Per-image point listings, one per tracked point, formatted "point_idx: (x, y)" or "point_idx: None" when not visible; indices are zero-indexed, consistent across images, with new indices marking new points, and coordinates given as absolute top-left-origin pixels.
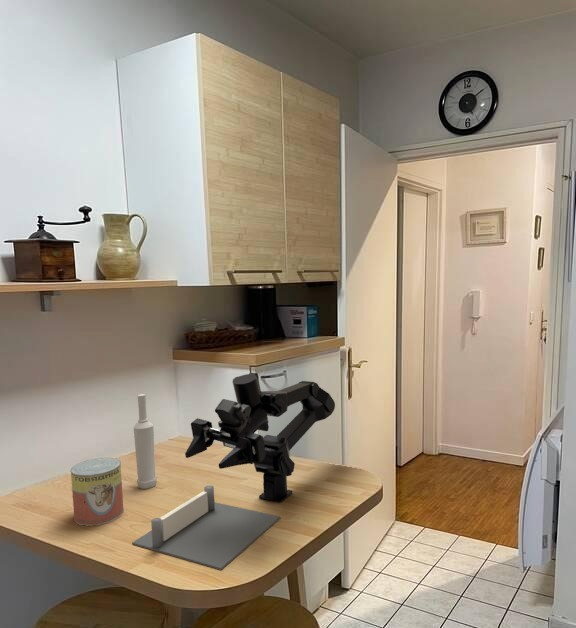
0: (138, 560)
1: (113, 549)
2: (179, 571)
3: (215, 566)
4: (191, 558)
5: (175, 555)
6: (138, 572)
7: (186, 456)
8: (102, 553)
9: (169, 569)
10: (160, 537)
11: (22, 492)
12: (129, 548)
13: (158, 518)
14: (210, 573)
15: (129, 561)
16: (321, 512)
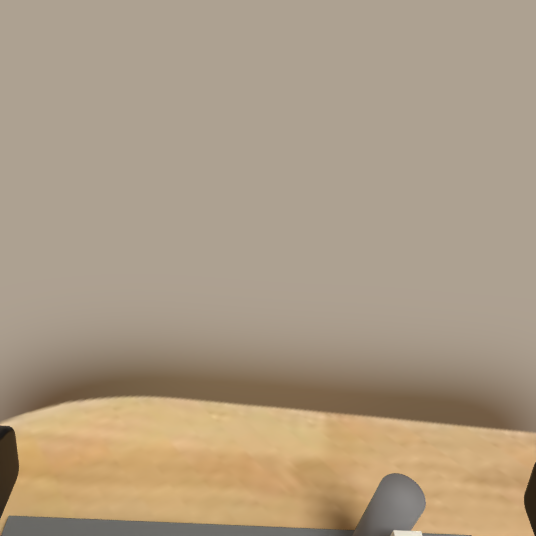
0: (349, 463)
1: (483, 485)
2: (171, 459)
3: (38, 518)
4: (168, 528)
5: (247, 526)
6: (292, 414)
7: (530, 483)
8: (483, 454)
9: (212, 457)
10: (357, 531)
11: None
12: (447, 512)
13: (409, 513)
14: (48, 488)
15: (368, 449)
16: None
